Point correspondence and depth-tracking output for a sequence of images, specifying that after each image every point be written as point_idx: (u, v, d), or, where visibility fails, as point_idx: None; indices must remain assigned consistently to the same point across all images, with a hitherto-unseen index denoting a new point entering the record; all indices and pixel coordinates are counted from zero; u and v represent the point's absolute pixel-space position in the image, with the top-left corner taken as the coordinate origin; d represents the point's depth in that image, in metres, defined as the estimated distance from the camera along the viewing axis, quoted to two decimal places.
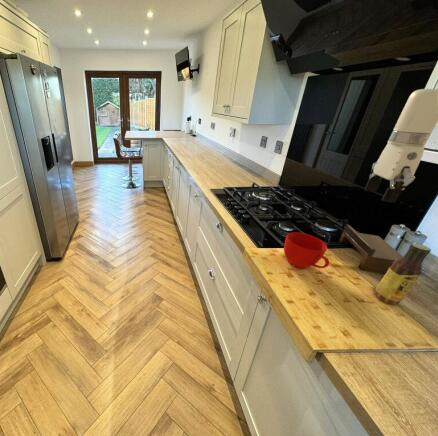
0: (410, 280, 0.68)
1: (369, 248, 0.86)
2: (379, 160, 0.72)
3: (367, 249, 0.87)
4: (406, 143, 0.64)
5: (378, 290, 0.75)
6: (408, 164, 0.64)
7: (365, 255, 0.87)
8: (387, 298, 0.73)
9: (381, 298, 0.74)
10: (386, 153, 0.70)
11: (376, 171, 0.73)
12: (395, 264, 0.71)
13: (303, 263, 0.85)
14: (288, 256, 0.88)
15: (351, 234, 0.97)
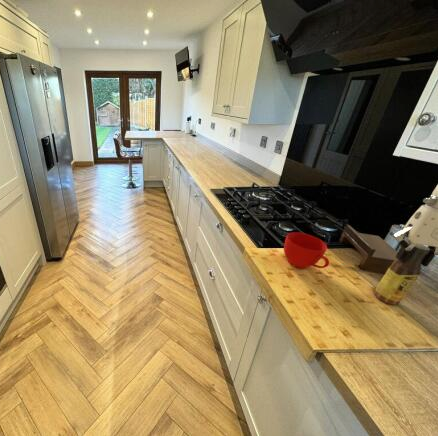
0: (409, 279, 0.68)
1: (369, 248, 0.86)
2: None
3: (367, 249, 0.87)
4: (426, 203, 0.64)
5: (378, 290, 0.75)
6: (412, 222, 0.65)
7: (365, 255, 0.87)
8: (387, 298, 0.73)
9: (381, 298, 0.74)
10: None
11: None
12: (394, 264, 0.71)
13: (303, 263, 0.85)
14: (288, 256, 0.88)
15: (351, 234, 0.97)
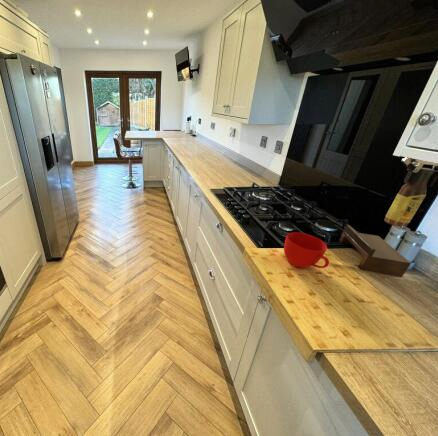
0: (416, 200, 0.77)
1: (369, 248, 0.86)
2: None
3: (367, 249, 0.87)
4: None
5: (388, 216, 0.83)
6: None
7: (365, 255, 0.87)
8: (396, 221, 0.81)
9: (391, 222, 0.82)
10: None
11: None
12: (403, 188, 0.79)
13: (303, 263, 0.85)
14: (288, 256, 0.88)
15: (351, 234, 0.97)
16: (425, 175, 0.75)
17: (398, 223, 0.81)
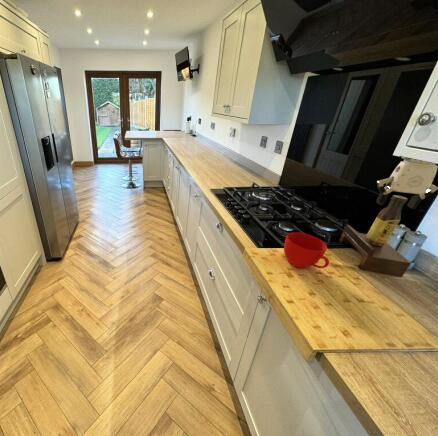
0: (392, 224, 0.87)
1: (369, 248, 0.86)
2: None
3: (367, 249, 0.87)
4: (404, 160, 0.82)
5: (368, 236, 0.94)
6: (394, 175, 0.83)
7: (365, 255, 0.87)
8: (375, 241, 0.92)
9: (370, 242, 0.93)
10: None
11: None
12: (381, 213, 0.90)
13: (303, 263, 0.85)
14: (288, 256, 0.88)
15: (351, 234, 0.97)
16: (399, 203, 0.85)
17: (376, 243, 0.92)
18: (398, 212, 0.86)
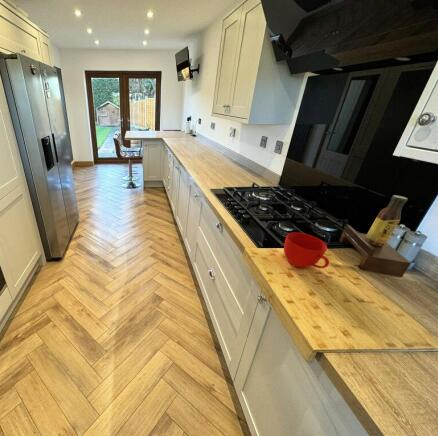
0: (392, 224, 0.87)
1: (369, 248, 0.86)
2: None
3: (367, 249, 0.87)
4: None
5: (368, 236, 0.94)
6: None
7: (365, 255, 0.87)
8: (375, 241, 0.92)
9: (370, 242, 0.93)
10: None
11: None
12: (381, 213, 0.90)
13: (303, 263, 0.85)
14: (288, 256, 0.88)
15: (351, 234, 0.97)
16: (399, 203, 0.85)
17: (376, 243, 0.92)
18: (398, 212, 0.86)
